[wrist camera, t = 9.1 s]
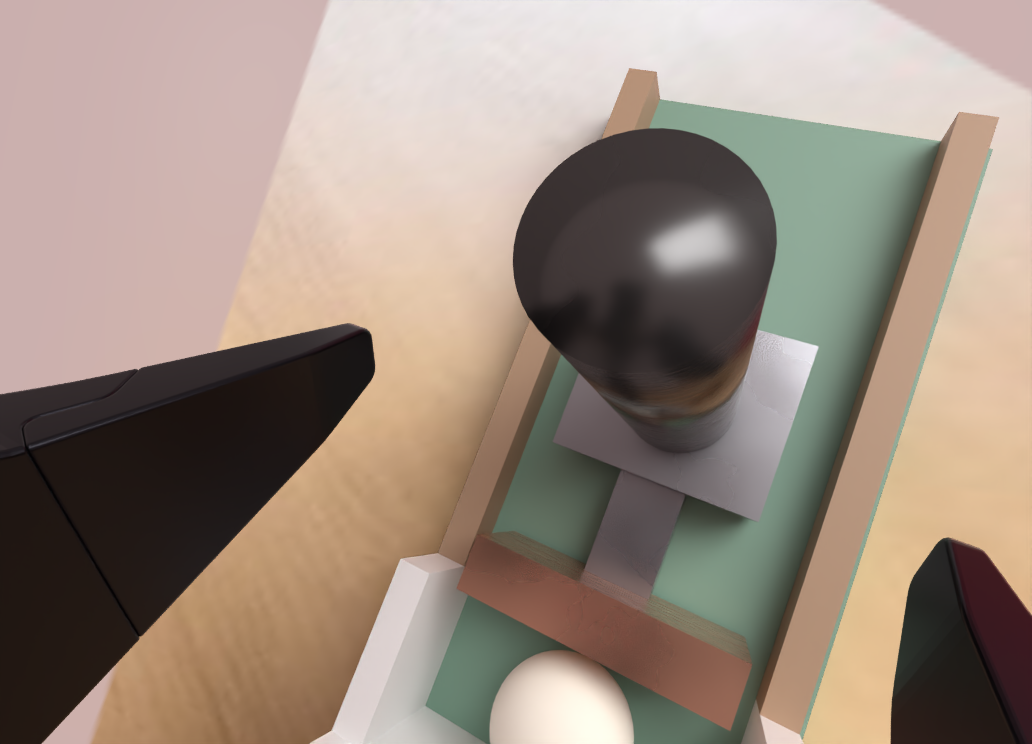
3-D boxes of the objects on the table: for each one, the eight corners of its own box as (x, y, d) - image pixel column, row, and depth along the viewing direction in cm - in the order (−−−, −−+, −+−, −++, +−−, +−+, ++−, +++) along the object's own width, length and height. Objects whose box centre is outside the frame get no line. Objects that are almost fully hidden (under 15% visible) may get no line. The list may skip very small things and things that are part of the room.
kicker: (726, 691, 17) (759, 1089, 5) (496, 576, 20) (178, 670, 8) (833, 374, 18) (1064, 112, 6) (599, 306, 21) (452, 35, 9)
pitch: (729, 938, 17) (732, 1005, 15) (389, 718, 21) (349, 744, 19) (979, 166, 19) (1015, 119, 17) (627, 110, 24) (618, 66, 21)
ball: (621, 617, 17) (608, 674, 20) (480, 634, 17) (486, 690, 19) (663, 782, 14) (641, 823, 17) (493, 806, 14) (498, 844, 16)
